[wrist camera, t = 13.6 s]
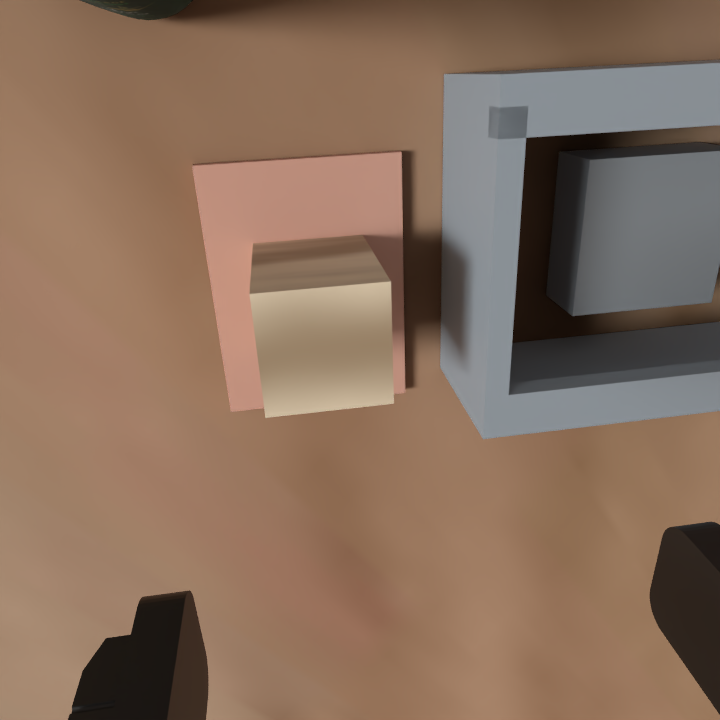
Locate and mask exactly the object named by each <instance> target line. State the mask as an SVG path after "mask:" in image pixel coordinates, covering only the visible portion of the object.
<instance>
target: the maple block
mask: <svg viewBox="0 0 720 720" xmlns="http://www.w3.org/2000/svg"><path fill="white" fill-rule="evenodd" d="M249 295H250V302H251V310H252V318H253V325H254V333H255V341H256V348H257V356H258V364H259V371H260V379H261V387H262V395H263V402H264V410H265V418H268V417H277V416H286V415H295V414H304V413H313V412H322V411H331V410H340V409H349V408H358V407H367V406H376V405H385V404H394V386H393V345H392V304H391V281H390V279H389V277H388V276H387V274H386V272H385V271H384V269H383V268H382V266H381V264H380V263H379V261H378V259H377V258H376V256H375V254H374V253H373V251H372V249H371V248H370V246H369V244H368V243H367V241H366V240H365V238H364V236H363V235H353V236H340V237H328V238H315V239H303V240H290V241H278V242H265V243H253V248H252V263H251V278H250V293H249Z"/></svg>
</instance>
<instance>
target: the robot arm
mask: <svg viewBox="0 0 720 720" xmlns="http://www.w3.org/2000/svg"><path fill="white" fill-rule="evenodd" d="M650 604H651V608H652V612H653V615H654V618H655V620H656V622H657V624H658V626H659V628H660V630H661V631H662V633H663V634H664V635H665V637H666V638H667V640H668V641H669V643H670V644H671V645H672V647H673V648H674V650H675V651H676V653H677V654H678V656H679V657H680V658H681V660H682V661H683V663H684V664H685V666H686V667H687V668H688V670H689V671H690V673H691V674H692V676H693V677H694V678H695V680H696V681H697V683H698V684H699V686H700V687H701V689H702V690H703V691H704V693H705V694H706V696H707V697H708V699H709V700H710V701H711V703H712V704H713V706H714V707H715V709H716V710H717V711H718V713H719V714H720V525H719V524H717V523H715V522H705V523H698V524H691V525H683V526H676V527H669V528H667V529H666V530H665V532H664V534H663V537H662V541H661V545H660V549H659V554H658V558H657V562H656V567H655V571H654V575H653V580H652V584H651V588H650ZM207 701H208V665H207V656H206V651H205V647H204V642H203V638H202V633H201V629H200V625H199V620H198V616H197V611H196V607H195V602H194V598H193V595H192V593H191V591H183V592H176V593H168V594H161V595H154V596H146V597H142V598H141V599H140V601H139V604H138V607H137V611H136V615H135V619H134V624H133V628H132V632H131V635H126V636H119V637H112V638H106V639H105V641H104V642H103V643H102V645H101V646H100V648H99V649H98V650H97V652H96V653H95V655H94V656H93V657H92V659H91V660H90V661H89V663H88V664H87V666H86V667H85V668H84V670H83V672H82V675H81V678H80V682H79V685H78V688H77V692H76V695H75V698H74V702H73V705H72V714H70V715H69V718H68V720H206V712H207Z"/></svg>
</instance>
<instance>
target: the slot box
mask: <svg viewBox="0 0 720 720" xmlns="http://www.w3.org/2000/svg"><path fill="white" fill-rule="evenodd" d="M715 125H720V60H703V61H684V62H665V63H646V64H626V65H607V66H588V67H569V68H550V69H531V70H512V71H493V72H474V73H454V74H444V118H443V196H442V275H441V354H440V368H441V369H442V371H443V373H444V374H445V376H446V378H447V380H448V381H449V383H450V385H451V386H452V388H453V390H454V391H455V393H456V395H457V396H458V398H459V400H460V401H461V403H462V405H463V406H464V408H465V410H466V411H467V413H468V415H469V416H470V418H471V420H472V421H473V423H474V425H475V426H476V428H477V430H478V431H479V433H480V435H481V436H482V438H483V439H488V438H496V437H505V436H513V435H521V434H530V433H538V432H546V431H555V430H563V429H572V428H580V427H588V426H597V425H605V424H614V423H622V422H630V421H639V420H647V419H655V418H664V417H672V416H681V415H689V414H697V413H706V412H714V411H720V322H712V323H702V324H692V325H683V326H673V327H663V328H653V329H644V330H634V331H624V332H614V333H604V334H595V335H585V336H575V337H565V338H556V339H546V340H536V341H526V342H516V343H512V338H513V324H514V309H515V294H516V280H517V265H518V250H519V236H520V221H521V206H522V192H523V177H524V163H525V148H526V138H530V137H545V136H560V135H576V134H591V133H607V132H622V131H638V130H653V129H668V128H684V127H699V126H715ZM719 265H720V145H715V144H709V143H703V142H693V143H679V144H664V145H649V146H634V147H620V148H605V149H590V150H575V151H561V152H559V157H558V168H557V179H556V190H555V201H554V212H553V223H552V234H551V245H550V256H549V267H548V278H547V289H546V296H548V297H549V298H550V299H551V300H553V301H554V302H555V303H557V304H558V305H559V306H560V307H562V308H563V309H564V310H565V311H567V312H568V313H569V314H570V315H572V316H579V315H589V314H599V313H609V312H619V311H630V310H640V309H650V308H660V307H670V306H680V305H691V304H701V303H711V302H712V297H713V293H714V288H715V284H716V279H717V274H718V270H719Z"/></svg>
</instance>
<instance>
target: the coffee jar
mask: <svg viewBox="0 0 720 720" xmlns="http://www.w3.org/2000/svg"><path fill="white" fill-rule="evenodd" d="M80 1H83V2H86V3H88V4H91V5H94V6H96V7H99V8H102V9H105V10H108V11H111V12H114V13H118V14H121V15H124V16H127V17H131V18H136V19H143V20H157V19H162V18H166V17H169V16H172V15H174V14H177V13H179V12H180V11H181V10H183V9H184V8H186V7H187V6H188V5H189V4H190V3H191V2H192V1H193V0H80Z"/></svg>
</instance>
